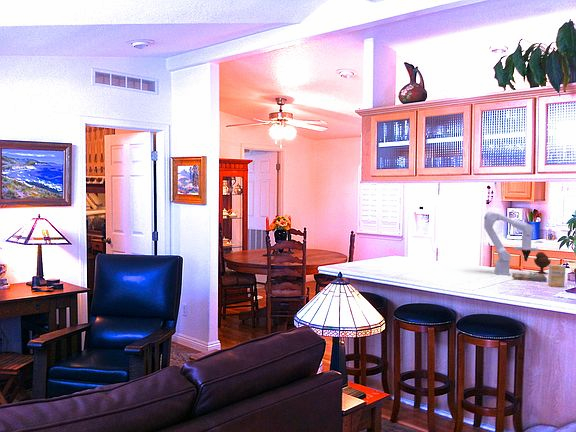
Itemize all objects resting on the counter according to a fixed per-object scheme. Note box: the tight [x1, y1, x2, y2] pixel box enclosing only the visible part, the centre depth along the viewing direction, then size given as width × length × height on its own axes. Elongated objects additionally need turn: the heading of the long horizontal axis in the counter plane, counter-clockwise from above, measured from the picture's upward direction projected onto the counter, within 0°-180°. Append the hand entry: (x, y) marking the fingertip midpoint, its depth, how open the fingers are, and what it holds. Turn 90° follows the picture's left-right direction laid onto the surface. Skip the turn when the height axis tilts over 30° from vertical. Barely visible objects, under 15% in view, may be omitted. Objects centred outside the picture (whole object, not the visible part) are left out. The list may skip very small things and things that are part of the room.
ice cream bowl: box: [533, 251, 552, 275], centre depth 396 cm, size 11×11×15 cm
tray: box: [530, 273, 548, 283], centre depth 371 cm, size 9×15×2 cm, turn 163°
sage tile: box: [527, 271, 536, 277], centre depth 371 cm, size 4×4×2 cm
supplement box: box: [547, 264, 566, 288], centre depth 348 cm, size 8×5×13 cm, turn 82°
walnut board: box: [511, 273, 532, 282], centre depth 373 cm, size 10×14×2 cm
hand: (525, 261), depth 389 cm, fingers closed
